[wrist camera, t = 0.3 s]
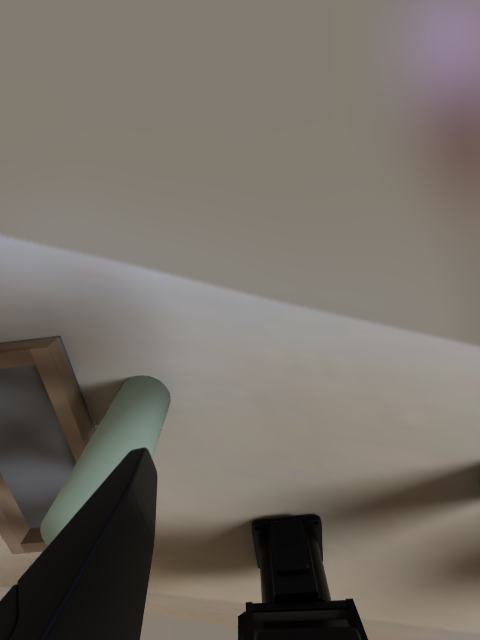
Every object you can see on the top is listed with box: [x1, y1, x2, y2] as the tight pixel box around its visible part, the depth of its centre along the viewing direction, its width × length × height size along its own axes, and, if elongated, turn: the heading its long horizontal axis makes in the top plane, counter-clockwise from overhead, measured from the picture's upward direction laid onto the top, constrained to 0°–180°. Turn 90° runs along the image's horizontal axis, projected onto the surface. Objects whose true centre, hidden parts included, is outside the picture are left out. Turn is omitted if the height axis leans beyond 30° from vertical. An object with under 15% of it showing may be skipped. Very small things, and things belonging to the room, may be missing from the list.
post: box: [40, 376, 170, 546], centre depth 21 cm, size 4×4×11 cm
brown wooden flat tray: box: [0, 336, 95, 554], centre depth 27 cm, size 20×10×2 cm, turn 7°
